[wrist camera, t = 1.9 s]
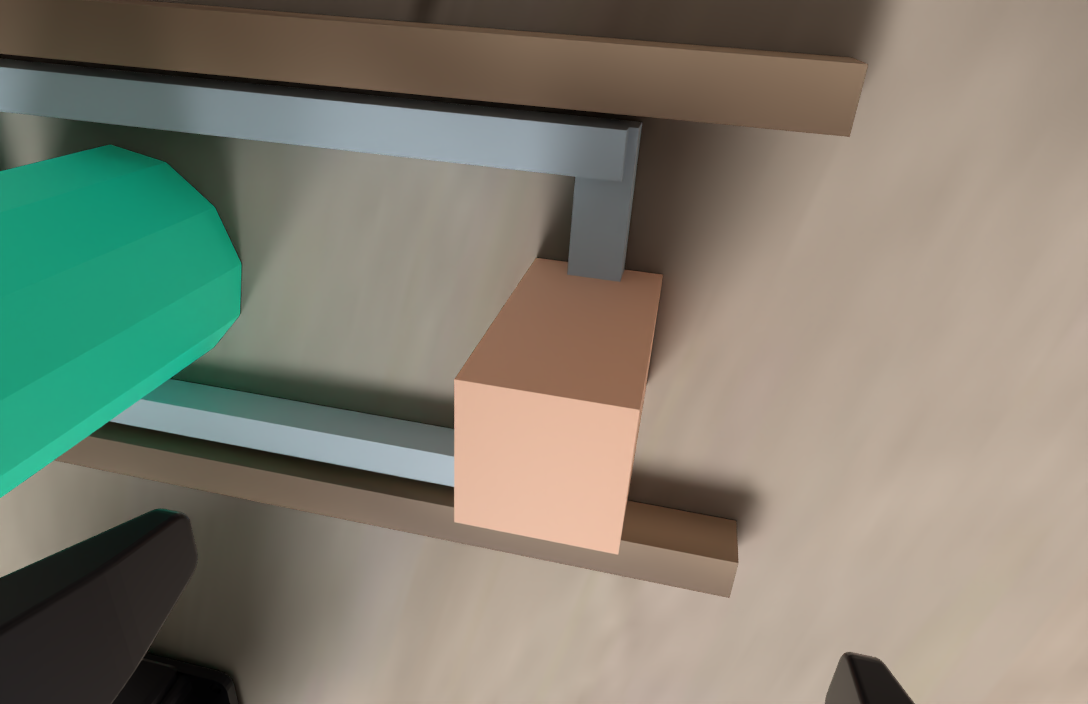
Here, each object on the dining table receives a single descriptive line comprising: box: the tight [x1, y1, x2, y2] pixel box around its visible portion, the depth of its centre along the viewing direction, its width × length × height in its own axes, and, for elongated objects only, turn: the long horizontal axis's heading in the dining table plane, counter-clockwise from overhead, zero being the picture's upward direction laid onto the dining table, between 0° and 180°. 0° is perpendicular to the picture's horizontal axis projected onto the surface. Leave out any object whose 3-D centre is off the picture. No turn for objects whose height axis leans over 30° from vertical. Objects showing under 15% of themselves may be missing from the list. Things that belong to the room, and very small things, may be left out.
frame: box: [0, 58, 663, 555], centre depth 16 cm, size 10×19×6 cm, turn 87°
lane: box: [0, 0, 868, 598], centre depth 17 cm, size 13×25×2 cm, turn 87°
